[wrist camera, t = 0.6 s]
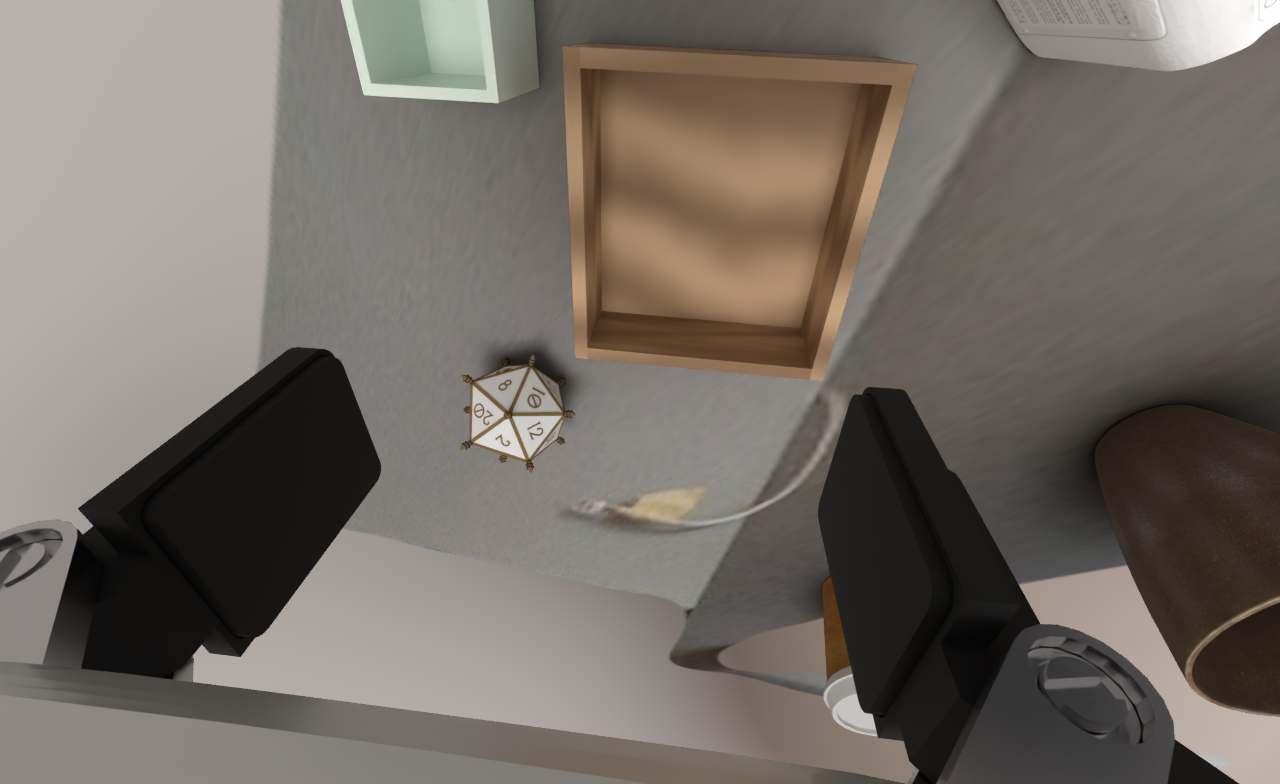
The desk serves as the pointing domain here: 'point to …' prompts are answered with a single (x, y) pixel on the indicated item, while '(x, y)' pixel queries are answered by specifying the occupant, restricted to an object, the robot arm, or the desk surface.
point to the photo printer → (1140, 29)
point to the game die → (515, 411)
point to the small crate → (444, 48)
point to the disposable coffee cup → (841, 671)
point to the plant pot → (1203, 544)
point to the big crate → (721, 200)
